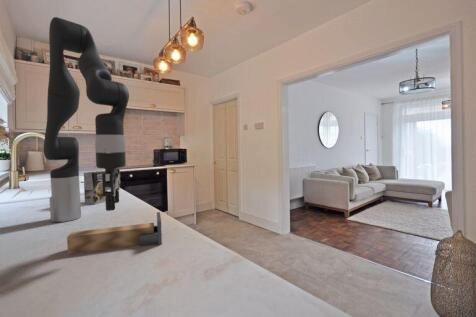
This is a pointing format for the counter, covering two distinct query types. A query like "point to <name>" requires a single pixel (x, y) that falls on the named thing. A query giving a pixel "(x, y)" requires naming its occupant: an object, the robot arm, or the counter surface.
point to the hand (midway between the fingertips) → (113, 206)
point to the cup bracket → (153, 234)
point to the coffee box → (93, 187)
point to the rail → (107, 237)
